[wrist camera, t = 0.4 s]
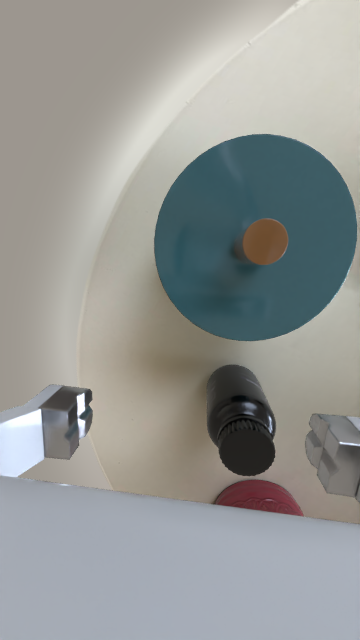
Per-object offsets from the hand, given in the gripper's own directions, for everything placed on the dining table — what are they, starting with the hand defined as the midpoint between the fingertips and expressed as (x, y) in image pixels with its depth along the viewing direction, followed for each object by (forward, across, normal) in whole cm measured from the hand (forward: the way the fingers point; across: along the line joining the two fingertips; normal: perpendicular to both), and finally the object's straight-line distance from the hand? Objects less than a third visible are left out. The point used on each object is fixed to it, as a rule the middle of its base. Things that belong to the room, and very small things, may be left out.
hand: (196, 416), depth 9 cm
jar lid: (+12, -3, -7) cm, 14 cm away
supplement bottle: (+22, -5, +10) cm, 25 cm away
